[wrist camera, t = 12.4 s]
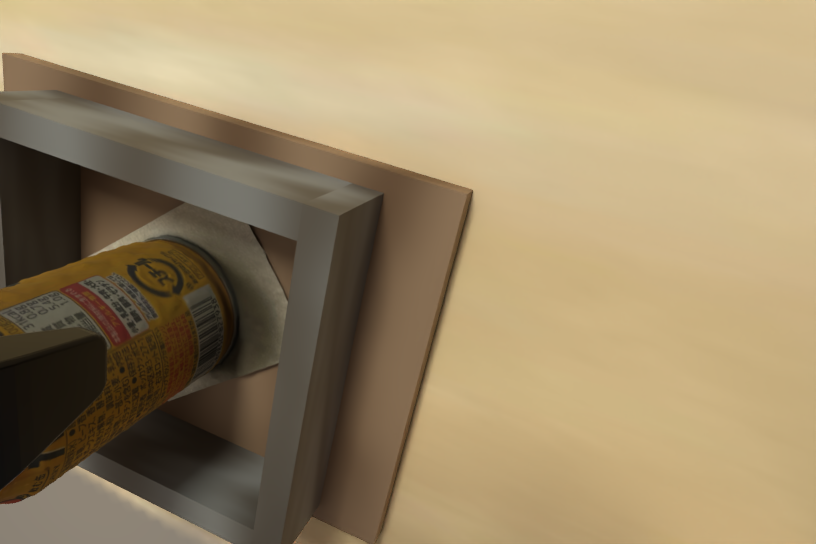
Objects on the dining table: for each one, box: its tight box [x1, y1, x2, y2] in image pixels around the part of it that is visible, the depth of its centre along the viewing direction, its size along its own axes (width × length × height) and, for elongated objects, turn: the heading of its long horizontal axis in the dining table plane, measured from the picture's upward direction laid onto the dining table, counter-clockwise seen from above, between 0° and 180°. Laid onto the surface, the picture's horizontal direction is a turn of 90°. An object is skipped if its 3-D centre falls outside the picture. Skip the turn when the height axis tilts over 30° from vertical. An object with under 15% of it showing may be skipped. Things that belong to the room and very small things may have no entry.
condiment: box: [0, 202, 288, 504], centre depth 19 cm, size 7×8×12 cm
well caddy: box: [0, 53, 473, 544], centre depth 23 cm, size 20×16×4 cm
